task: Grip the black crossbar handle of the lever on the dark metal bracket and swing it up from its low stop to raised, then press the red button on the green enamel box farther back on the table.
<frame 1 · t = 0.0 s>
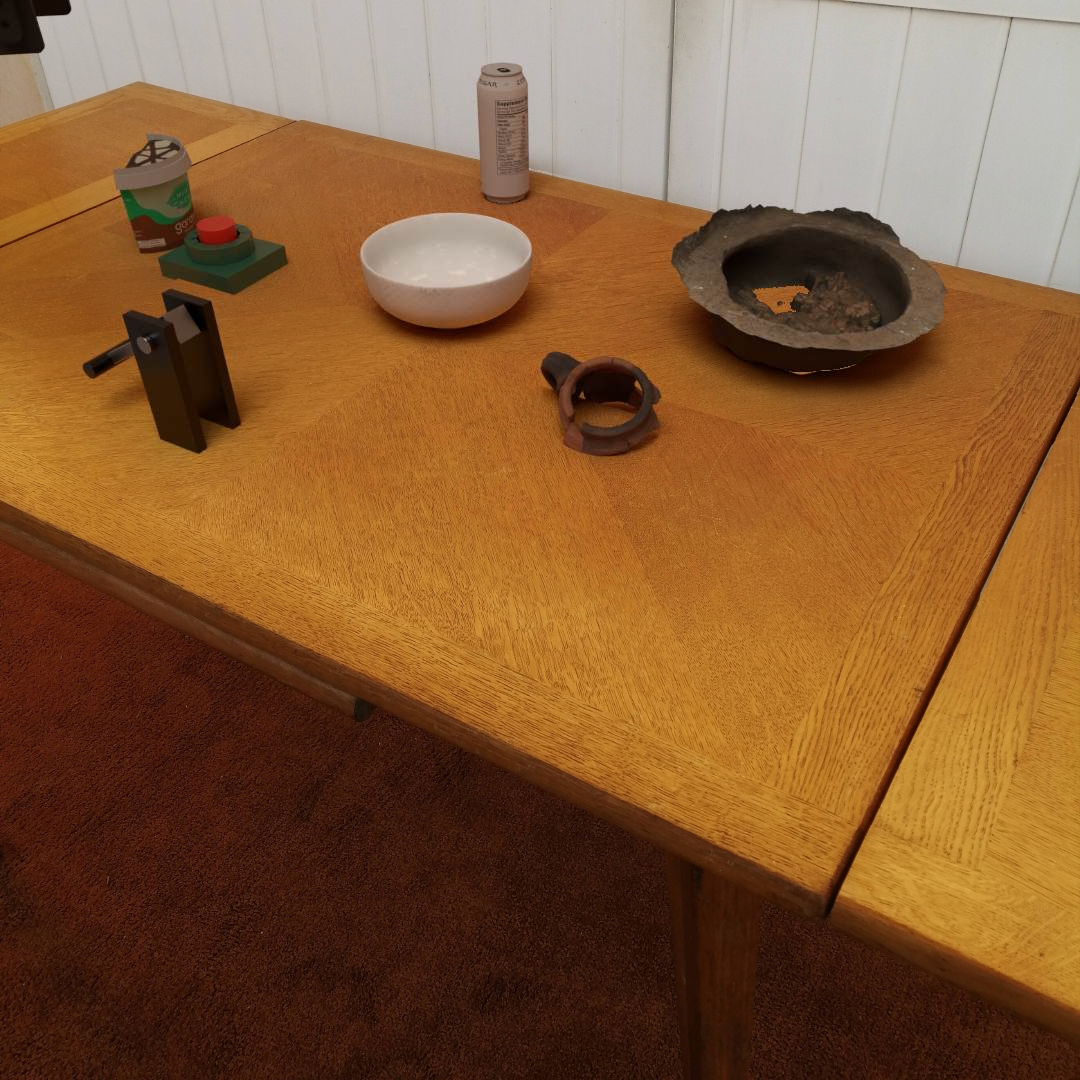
hand: (34, 32, 66), 31 cm above the table, tool pointing down, fingers open, 9 cm apart
button box: (226, 270, 110), on the table
lever: (143, 342, 80), point 9 cm above the table, hinge at -30.0°
food container: (180, 238, 117), on the table
bracket: (204, 445, 85), on the table
button: (217, 231, 107), point 4 cm above the table, slide at 0.1 cm
stone bowl: (799, 339, 98), on the table
cereal bowl: (450, 313, 102), on the table
pottery mug: (596, 433, 86), on the table
energy drink can: (505, 197, 126), on the table
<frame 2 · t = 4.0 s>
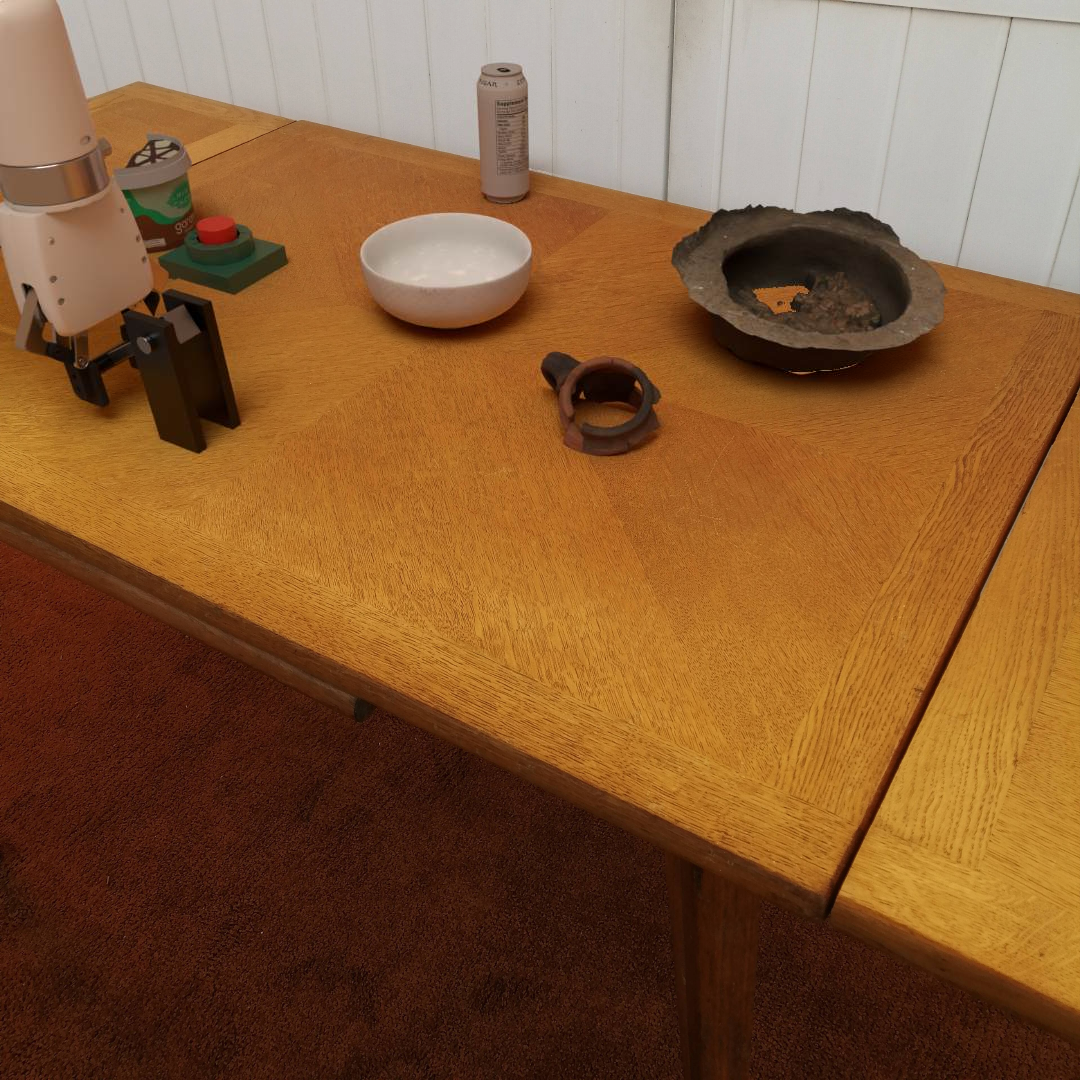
hand: (120, 384, 86), 3 cm above the table, tool pointing down, fingers closed on lever, 5 cm apart
lever: (143, 342, 80), point 9 cm above the table, hinge at -30.0°, touching gripper
everything else where it was.
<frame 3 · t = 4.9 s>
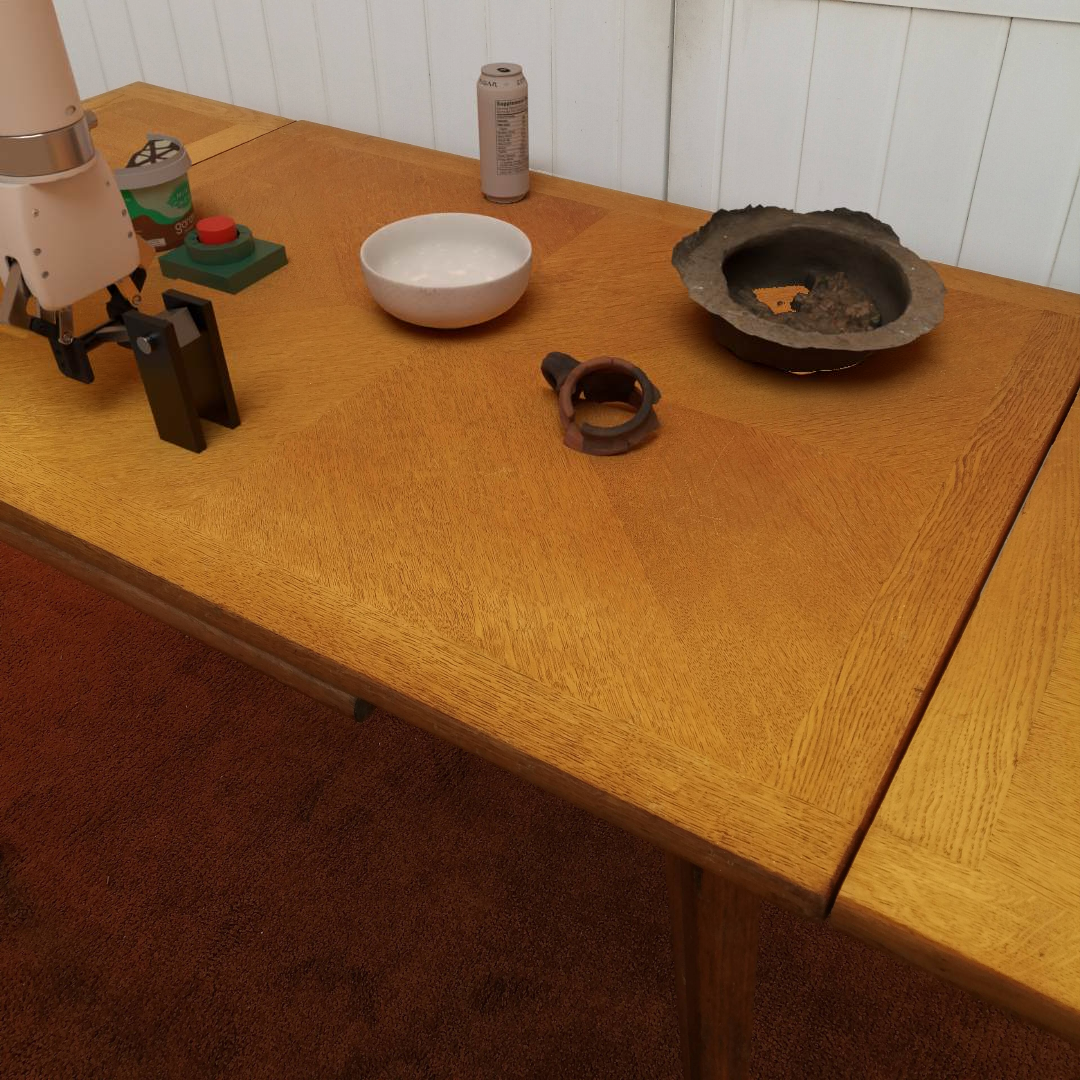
hand: (106, 361, 85), 5 cm above the table, tool pointing down, fingers closed on lever, 5 cm apart
lever: (137, 332, 80), point 10 cm above the table, hinge at -18.4°, touching gripper
everything else where it was.
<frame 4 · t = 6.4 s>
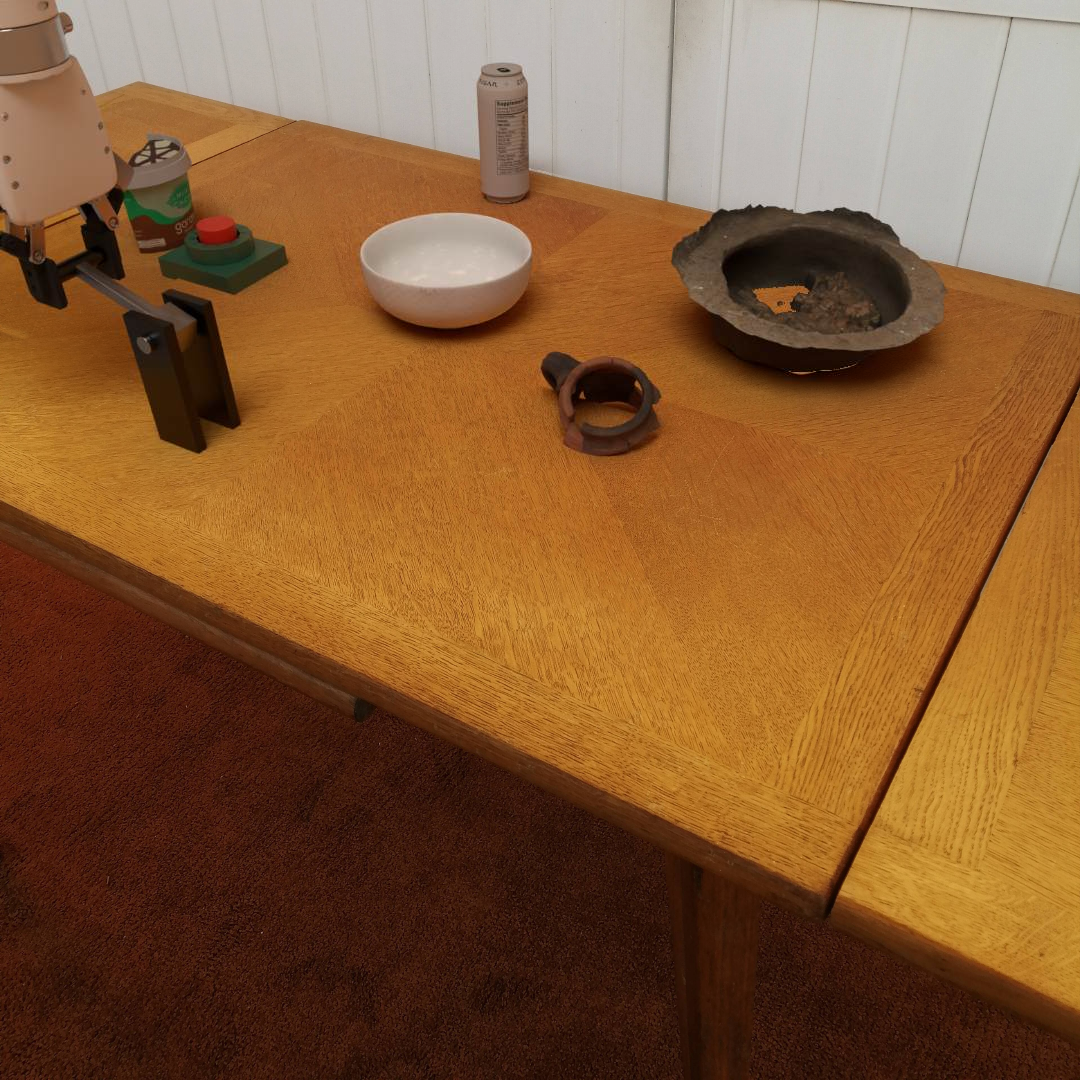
hand: (80, 287, 80), 12 cm above the table, tool pointing down, fingers closed on lever, 5 cm apart
lever: (127, 298, 78), point 12 cm above the table, hinge at 17.8°, touching gripper
everything else where it was.
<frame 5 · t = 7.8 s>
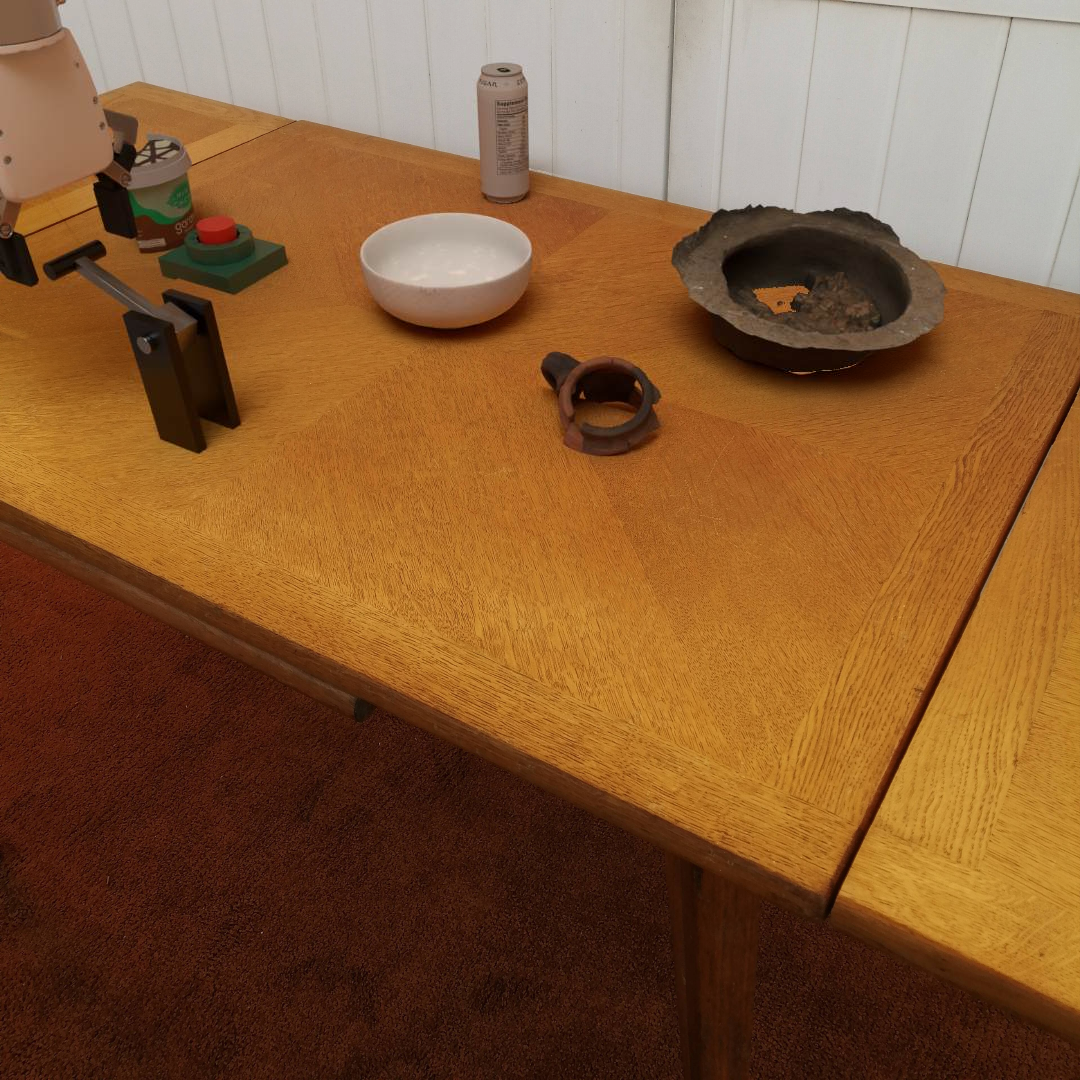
hand: (74, 257, 78), 15 cm above the table, tool pointing down, fingers open, 9 cm apart
lever: (127, 296, 78), point 13 cm above the table, hinge at 21.0°
everything else where it was.
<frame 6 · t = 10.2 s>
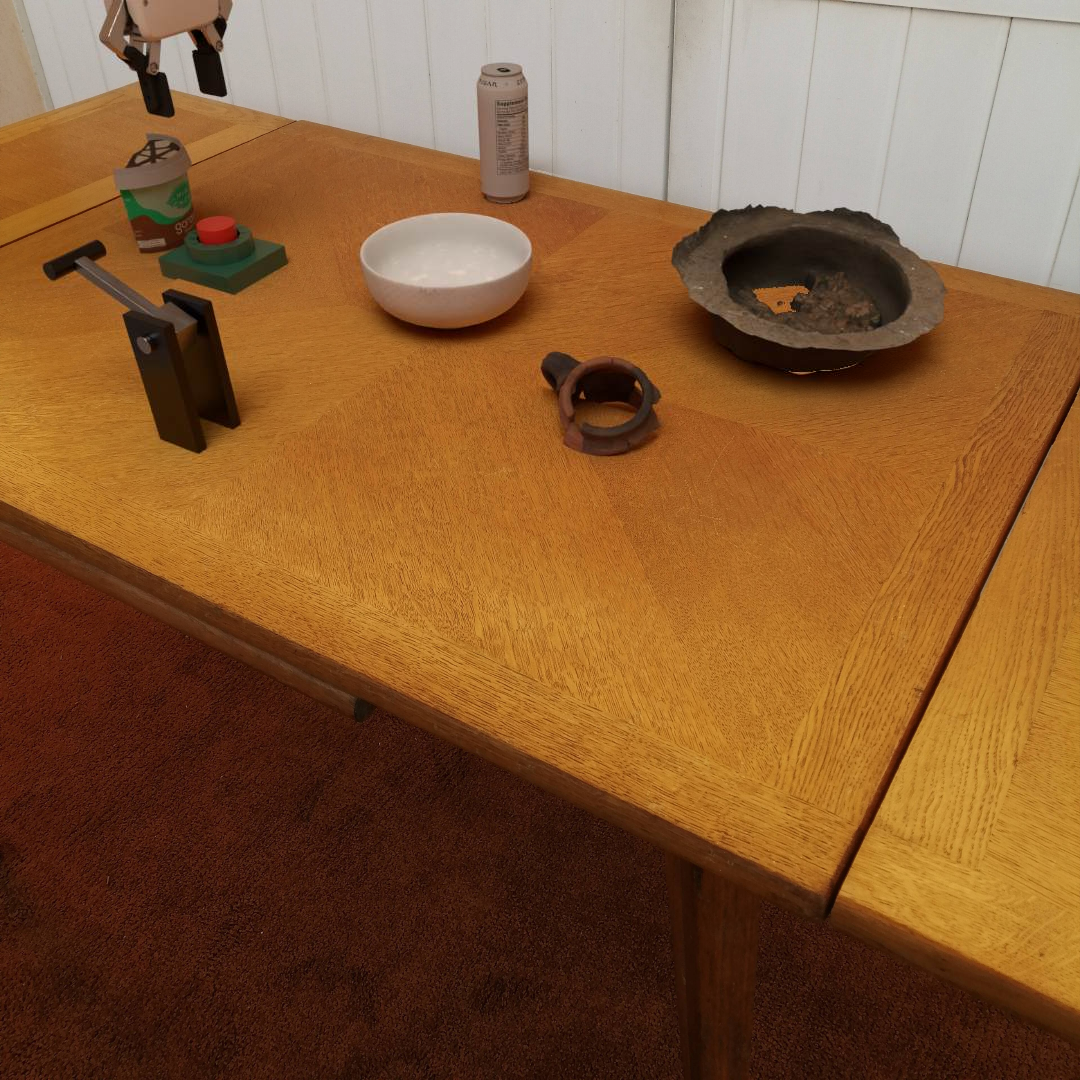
hand: (188, 102, 99), 18 cm above the table, tool pointing down, fingers open, 6 cm apart
nothing on the table moved.
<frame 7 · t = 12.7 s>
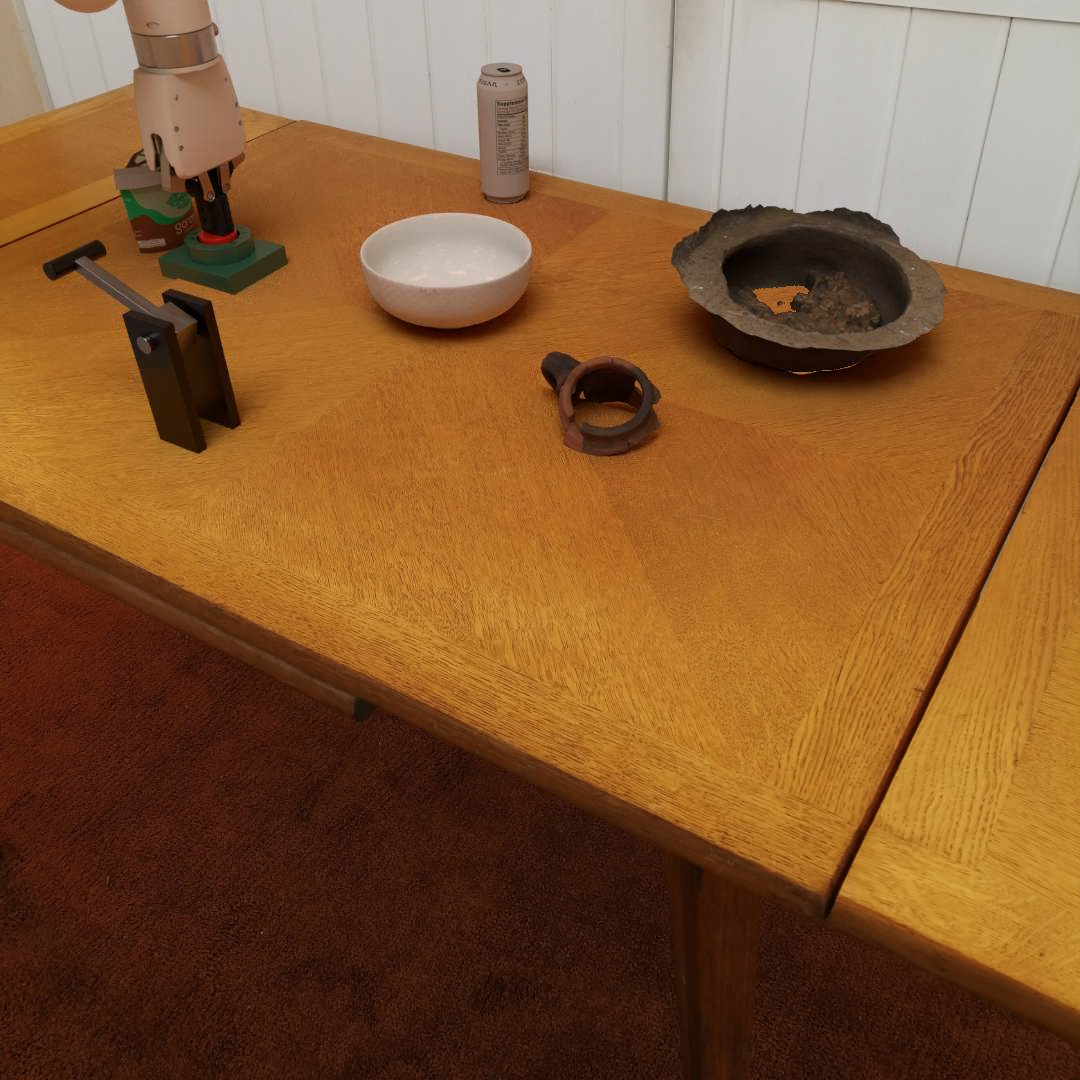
hand: (218, 231, 107), 4 cm above the table, tool pointing down, fingers closed
button: (219, 239, 108), point 4 cm above the table, slide at -0.8 cm, touching gripper
everything else where it was.
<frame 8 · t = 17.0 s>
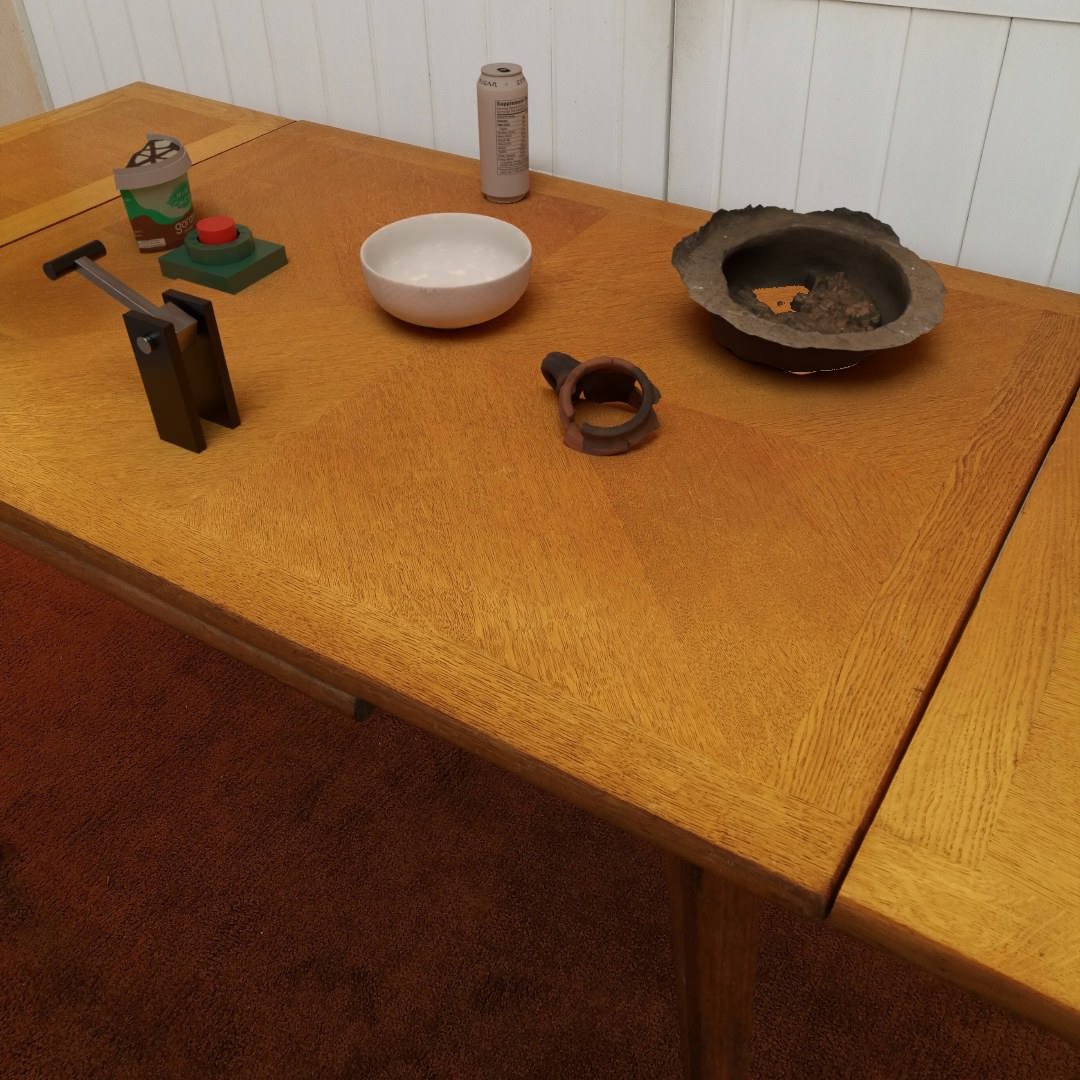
button: (217, 231, 107), point 4 cm above the table, slide at 0.1 cm
everything else where it was.
at the end: lever at +21° (first picture: -30°); button pushed in 1.1 cm at the most during the clip, back to where it started at the end; button slide at 0.1 cm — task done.
